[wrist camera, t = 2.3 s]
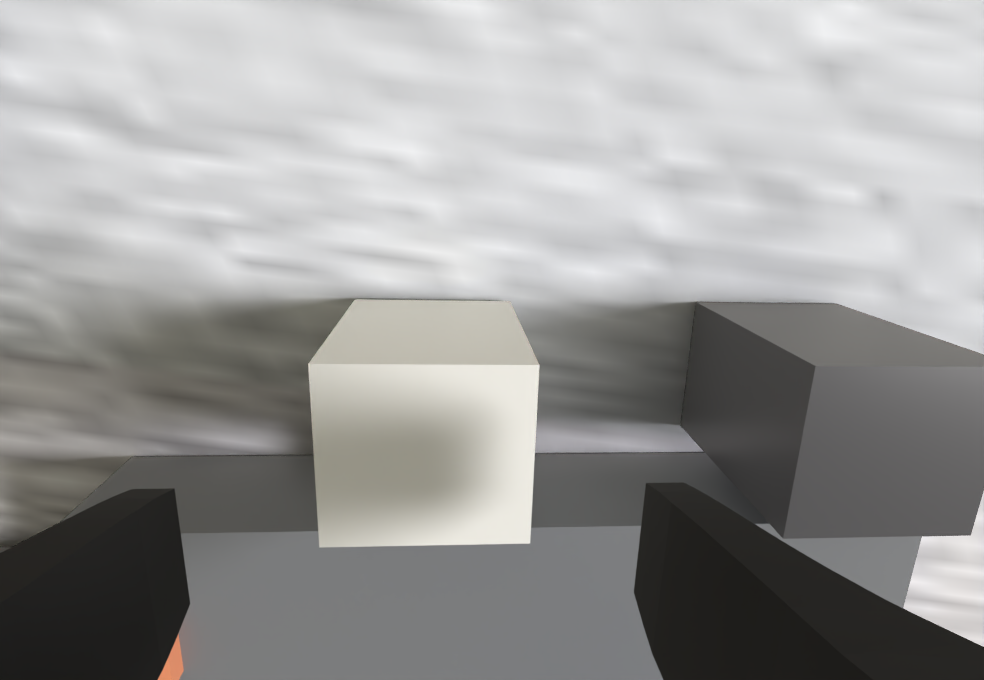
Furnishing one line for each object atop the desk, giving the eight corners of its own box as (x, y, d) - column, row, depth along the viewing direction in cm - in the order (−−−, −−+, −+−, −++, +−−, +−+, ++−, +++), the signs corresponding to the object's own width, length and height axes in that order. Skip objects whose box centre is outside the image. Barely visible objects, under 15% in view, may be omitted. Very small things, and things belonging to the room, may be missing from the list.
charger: (502, 506, 19) (524, 647, 13) (362, 508, 19) (325, 653, 13) (510, 301, 17) (539, 364, 11) (354, 299, 17) (307, 364, 11)
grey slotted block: (802, 592, 21) (936, 753, 15) (-40, 614, 19) (-256, 811, 13) (861, 303, 18) (1054, 366, 12) (-126, 292, 16) (-451, 361, 10)
